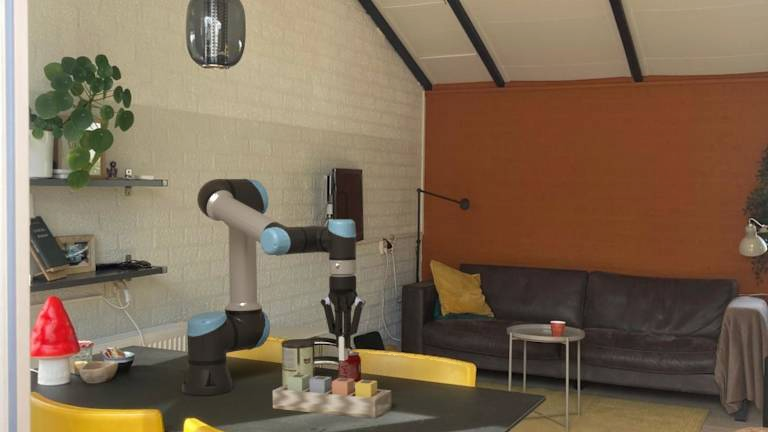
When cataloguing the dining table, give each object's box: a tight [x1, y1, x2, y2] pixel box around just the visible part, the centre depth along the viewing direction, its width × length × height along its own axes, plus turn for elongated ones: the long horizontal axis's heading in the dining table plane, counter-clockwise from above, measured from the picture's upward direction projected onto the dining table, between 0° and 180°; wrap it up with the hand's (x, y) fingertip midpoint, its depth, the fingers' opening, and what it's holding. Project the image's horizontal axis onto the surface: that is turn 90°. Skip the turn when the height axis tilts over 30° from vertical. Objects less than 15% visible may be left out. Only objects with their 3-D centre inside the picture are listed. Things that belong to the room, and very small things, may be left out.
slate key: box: [310, 375, 333, 393], centre depth 238 cm, size 5×5×5 cm
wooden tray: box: [272, 383, 392, 420], centre depth 237 cm, size 31×12×5 cm, turn 68°
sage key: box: [287, 374, 309, 391], centre depth 241 cm, size 5×5×5 cm
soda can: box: [338, 350, 362, 387], centre depth 255 cm, size 7×7×12 cm
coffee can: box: [280, 338, 316, 386], centre depth 263 cm, size 10×10×14 cm
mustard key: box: [355, 379, 378, 398], centre depth 233 cm, size 5×5×5 cm
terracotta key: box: [332, 377, 354, 396], centre depth 235 cm, size 5×5×5 cm
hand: (343, 359), depth 235 cm, fingers closed
